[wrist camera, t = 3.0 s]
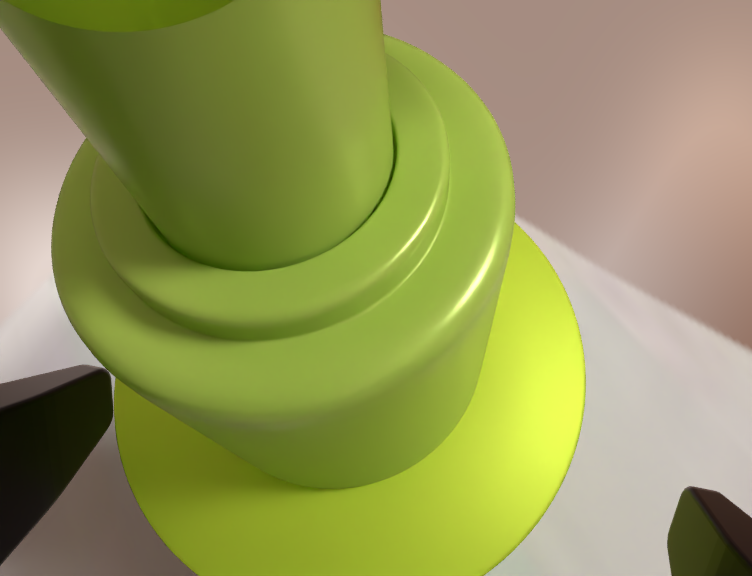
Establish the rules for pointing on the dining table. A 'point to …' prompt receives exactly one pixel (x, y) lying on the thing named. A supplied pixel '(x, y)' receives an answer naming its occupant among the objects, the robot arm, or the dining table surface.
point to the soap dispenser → (304, 287)
